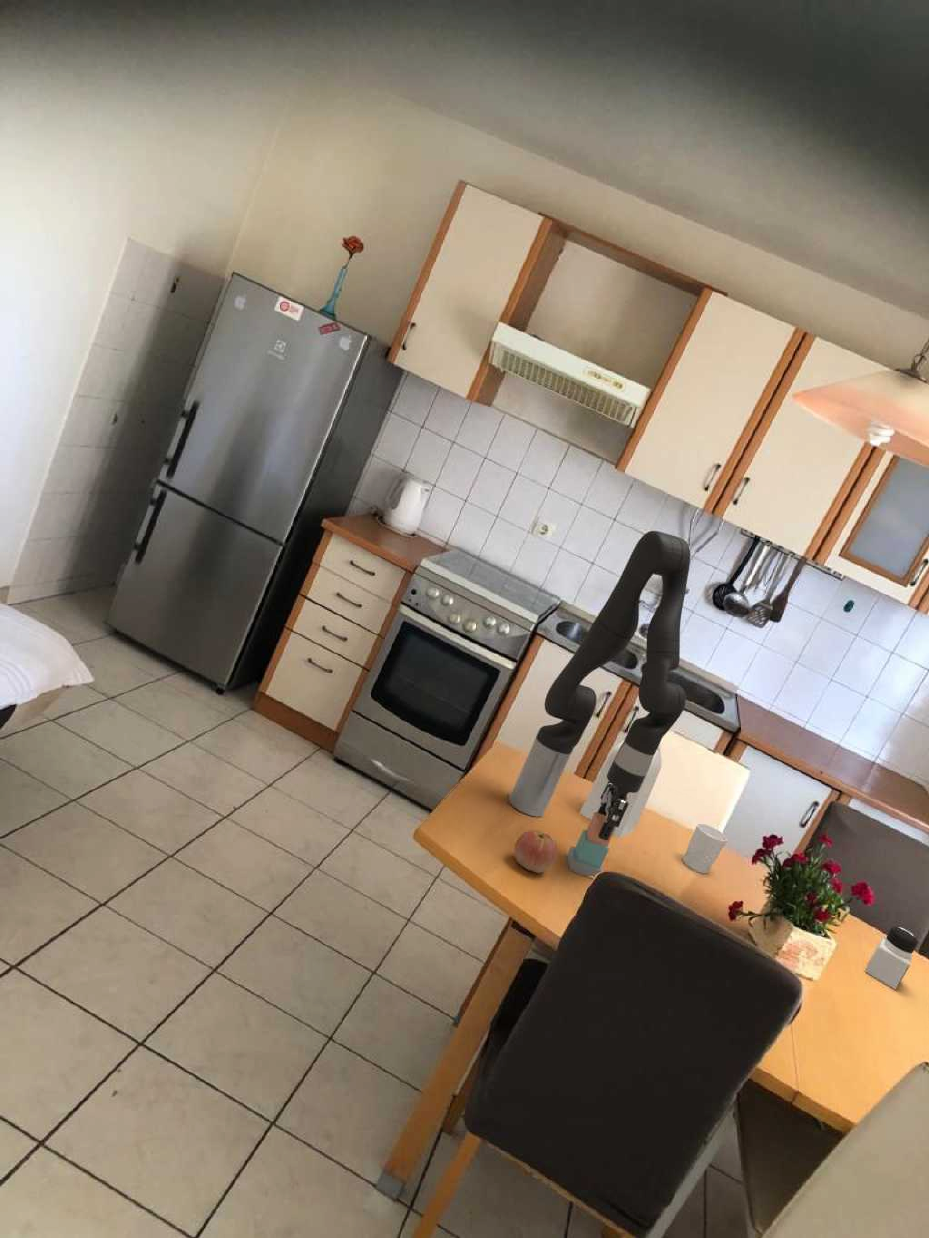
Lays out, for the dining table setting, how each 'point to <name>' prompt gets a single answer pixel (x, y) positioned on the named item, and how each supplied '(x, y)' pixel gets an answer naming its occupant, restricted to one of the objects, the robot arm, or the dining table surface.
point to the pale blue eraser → (581, 865)
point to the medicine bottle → (892, 957)
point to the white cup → (704, 848)
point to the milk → (634, 799)
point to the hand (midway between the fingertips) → (600, 830)
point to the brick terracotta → (597, 829)
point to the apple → (535, 850)
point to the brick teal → (590, 851)
